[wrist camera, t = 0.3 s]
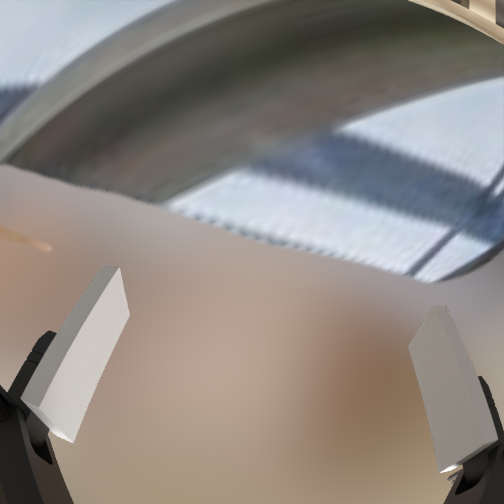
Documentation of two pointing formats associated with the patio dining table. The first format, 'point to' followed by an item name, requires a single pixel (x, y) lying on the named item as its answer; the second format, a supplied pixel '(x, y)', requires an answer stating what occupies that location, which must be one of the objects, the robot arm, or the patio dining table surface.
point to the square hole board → (473, 14)
